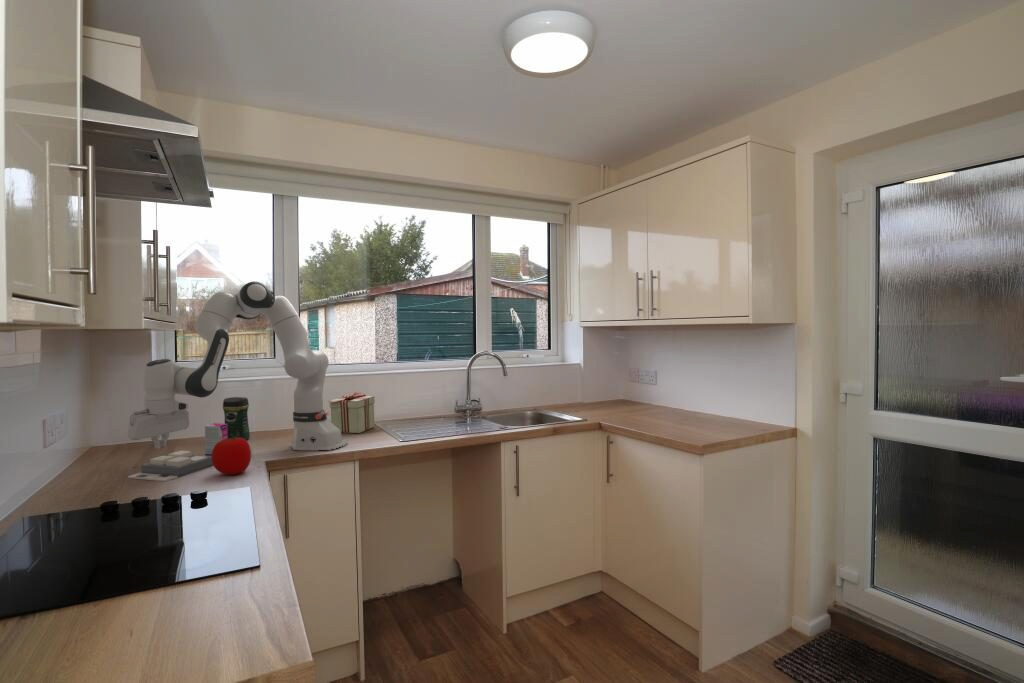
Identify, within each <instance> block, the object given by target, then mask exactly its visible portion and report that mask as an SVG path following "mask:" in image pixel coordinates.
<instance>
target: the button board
mask: <svg viewBox="0 0 1024 683" xmlns="http://www.w3.org/2000/svg"><path fill="white" fill-rule="evenodd" d="M195 456H203V457H208V458H205V459H201V460H198V461H191V463H189V464H186V465H182V466H179V467H175V466H166V464H164V465H152V464H150V462H147V463H146V462H145V463H143V464H141V465H140V472H137V473H135V474H132V475H128V476H127V478H128V479H135V480H148V481H154V482H155V481H157V482H168V481H171V480H175V479H176V478H180V477H183V476H186V475H190V474H193V473H195V472H198V471H201V470H204V469H208V468H210V467H214V465H213V463H212V456H207V455H205V454H204V455H203V454H194V453H192V456H191V457H195ZM191 457H188V458H191Z"/></svg>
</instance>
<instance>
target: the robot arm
mask: <svg viewBox="0 0 1024 683" xmlns="http://www.w3.org/2000/svg"><path fill="white" fill-rule="evenodd" d="M260 315H263V316H264V317H266V319H267V320H268V321H269V323H270V325H271V327H272V329H273V331H274V334H275V335H276V338H277V339H278V341H279V344H280V345H281V350H282V353H283V358H284V361H285V362H284V366H283V367H284V370H285V373H286V375H288V376H289V377H290V378H293V379H297V383H296V386H295V389H294V391H293V412H292V420H293V432H292V438H291V439H292V440H291V444H290V448H292V450H293V451H318V450H329V451H332V450H331V449H334V450H337V449H336V448H338V449H340V448H339V447H341V448H342V446H343V447H345V446H347V445H348V440H345V439H343V438H342V433H341V431H340V429H339V428H337V427H336V426H335V425H333V424H332V423H331V420H329V419H328V417H327V416H329V415H330V414H329V413H330V412H329V411H327V412H325V410H324V404H323V403H324V401H323V400H324V398H323V396H324V395H323V394H324V392H323V391H324V384H325V379H326V372H327V369H328V366H329V363H330V362H329V358H328V355H327V354H326V353H324V352H323V351H320V350H318V349H311V348H310V347H311V346H310V343H309V340H308V334H309V333H308V330H307V329H306V327H305V325H304V324H303V322H302V319H301V317H300V315H299V314H298V312H297V310H296V308H295V307H294V306H293V305H292V303H291V302H290V301H289V299H288V298H287V297H286V296H283V295H275V293H274V292H273V291H272V290H270V289H269V288H268V287H267V286H266V285H265V284H264V283H262V282H260V281H249V282H247V283H245V284H244V285H243V286H242V287H241V288H240V290H239V291H238V292H237V294H231V293H229V292H225V291H217V292H215V293H213V295H212V296H211V297H210V298H209V300H208V301H207V302H206V303H205V304H204V306H203V308H202V309H201V311H200V313H199V315H198V317H197V319H196V321H195V324H194V325H195V326H194V328H195V331H196V333H197V335H199V337H200V338H202V339H203V340H205V341H206V342H207V349H206V352H205V353H204V354H205V355H204V357H203V359H202V363H201V364H200V365H199V366H197V367H195V368H194V367H186V366H182V365H179V364H177V363H175V362H174V361H172V360H171V359H169V358H163V359H162V358H161V359H155V360H151V361H149V362H148V363H146V364H145V367H144V370H143V377H142V378H143V381H142V382H143V389H144V397H143V409H142V410H135V411H134V412H133V413H131V415H130V416H129V422H128V432H127V437H128V439H130V440H132V441H140V440H144V439H148V438H150V440H151V441H152V442H153V444H154V449H162V448H164V447H167V441H168V439H169V438H170V433H174V432H179V431H184V430H188V429H189V426H190V412H189V410H187V409H189V403H188V402H182V401H178V400H176V395H182V396H183V395H184V396H192V397H196V398H206V397H209V396H210V395H212V394H213V393H214V392H215V390H216V389H217V386H218V383H219V374H220V371H221V367H222V364H223V362H224V359H225V356H226V354H227V353H226V352H227V350H228V347H229V343H230V334H229V332H230V328H231V326H232V323H233V321H234V320H235V318H238V319H239V318H240V319H242V320H253V319H256V318H258V317H259V316H260ZM160 437H161V439H160ZM159 439H160V440H159Z"/></svg>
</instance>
